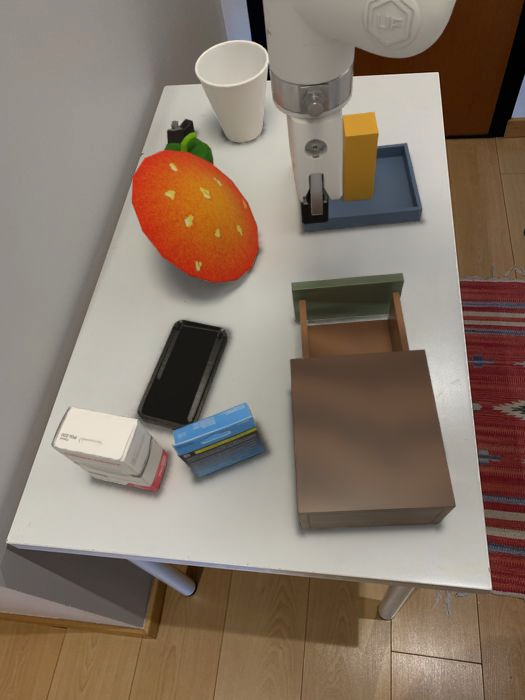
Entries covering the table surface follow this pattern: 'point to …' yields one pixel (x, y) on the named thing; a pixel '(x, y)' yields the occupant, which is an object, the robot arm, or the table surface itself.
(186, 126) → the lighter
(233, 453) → the label tape box
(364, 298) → the drawer
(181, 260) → the toy strawberry
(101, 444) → the ink box
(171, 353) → the phone
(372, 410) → the cabinet
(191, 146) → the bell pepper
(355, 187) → the block
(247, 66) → the cup
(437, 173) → the table surface
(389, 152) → the tray
